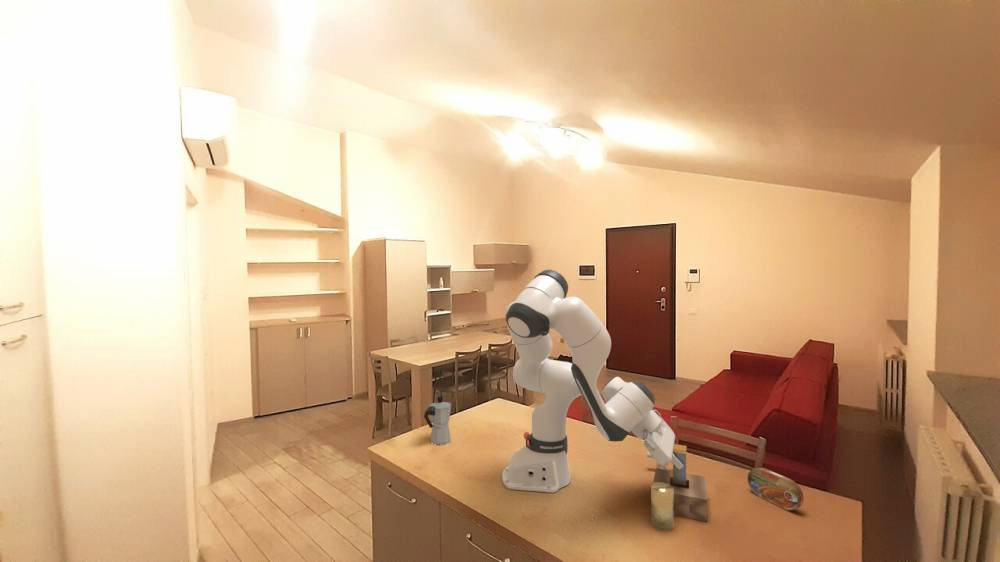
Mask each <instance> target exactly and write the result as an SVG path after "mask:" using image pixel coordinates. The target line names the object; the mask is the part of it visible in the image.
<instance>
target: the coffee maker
mask: <svg viewBox="0 0 1000 562" xmlns="http://www.w3.org/2000/svg"><path fill="white" fill-rule="evenodd" d="M443 398H444V396H443V395H439V396H437V398H436V399H437V402H432V403H431V404H430V405H428V408H427V409H425V411H424V415H423V417H424V419H425V421H426V423H427V425H428V426H429V428H430V429H431V433H430V440H431V443H433V444H432V445H434V444H436V445H435V446H438V445H437V444H446V443H448V442H450V441H451V442H452V439H451V432H450V425H449V421H450V419H451V410H452V402H447V401H446V402H445V401H443V400H444V399H443ZM429 416H430V418H429ZM451 442H450V443H451ZM431 443H430V444H431ZM448 444H449V443H448ZM446 445H447V444H446Z"/></svg>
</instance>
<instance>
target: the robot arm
mask: <svg viewBox="0 0 1000 562" xmlns="http://www.w3.org/2000/svg"><path fill="white" fill-rule="evenodd" d="M568 293H569V284H568V281H567V279H566V278H565V277H564V276H563V275H562V274H561V273H559V272H558V271H556V270H553V269H544V270H542V271H541V272H538V273H537V274H536V275H535V276H534V277H533V279H532V280H531V281H530V282H528V284H527V285H525V287H523V288H522V290H521V292H520V293H519V294H518V296H517V297H516V299H515V300H514V301H512V302H510V304H509V305H508V306H507V307H506V309H505V311H504V318H505V323H506V326H507V329H508V332H509V334H510V338H511V340H512V342H513V344H514V346H515V349H516V350H517V353H518V356H519V359H518V360H517V361H516V362H515V364H514V366H513V369H512V376H513V377H512V379H513V381H514V383H515V384H516V385H517V386H519V387H521V388H524V389H526V390H528V391H531V392H537V393H540V394H541V393H542V394H545V402H542V403H540V404H538V405H537V406H535V408H533V410H532V413H531V433H530V432H528V431H526V432H525V431H524V433H523V439H524V440H525V445H524V446H522V447H521V448H520V449H519V450H517V451H515V452H514V453H512V455H511V457H510V461H509V465H508V466H505V468H503V470H502V475H501V480H502V484H503V486H505V488H506V489H508V490H518V491H519V490H520V491H529V492H540V493H557V492H558V491H559V490H560V489H561V488H564V487H566V486H568V485H569V484H570V483H571V482H572V477H571V473H570V469H569V463H568V455H567V454H568V449H569V448H568V446H569V445H568V444H569V442H568V436H567V416H568V415H567V414H568V410H569V408H570V406H571V404H572V403H573V401H574V400H575V399H577V398H578V397H580V396H582V398H583V400H584V402H585V405H586V407H587V408H588V410H589V413H590V415H591V418H592V420H593V423H594V425H595V428H596V430H597V431H598V432H599V434H600V435H601V436H602V437H603V438H605V440H606V441H608V442H623V441H624V440H625V439H626V437H627V436H628V435H629V434H630V432H632V433H633V434H634V436H636V438H638V440H643V441H644V442H643V445H644V447H645V449H646V450H647V452H649V453H650V454H651V455H652V456H653V457H654V458H653V459H654V460H655V461H656V462H657V463H658V465H659V466H660V465H661V466H665V467H666V466H667V465H669V463H670V464H671V465H673V464H674V465H675V466H676V467H677V468H678V469H681V468H682V467H683V463H682V462H681V460H680V459H679V460H678V459H677V458H676V457H675V455H674V454H673V446H674V444H675V441H676V440H675V439H676V435H675V433H674V431H673V430H672V428H671V427H670V425H668V423H667V421H665V420H664V419H663V417H661V413H660V412H659V411H658V410H657V409H653V408H654V407H655V403H656V400H655V394H654V393H652V391H651V390H650V389H649V388H648V387H647V386H646V385H645V384H644V383H643V382H642V381H636V380H634V381H629V382H627V381H624V380H623V379H622V378H621V377H619V376H615V377H613V378H611V379H610V380H608V381H607V382H606V384H605V385H604V386H603V387H602V389H601V391H599V389H598V387H597V381H598V377H599V375H600V372H601V370H602V368H603V366H604V365H605V363H606V361H607V359H608V358H609V355H610V352H611V349H612V339H611V336H610V334H609V331H608V329H607V328H606V327H605V325H604V324H603V322H602V321H601V319H600V318H599V317H598V316H597V314H596V313H595V312H594V311H593V309H592V308H591V307H590V306H588V305H587V303H586V302H585V301H584V300H582V298H579V297H577V296H567V294H568ZM550 329H552V330H554V331H556V332H557V333H558V334H559V335H560V336H561V338H562V339H563V341H564V342H565V344H566V345H567V346H568V348H569V349H570V353H571V357H572V362H569V361H564V360H563V361H562V360H557V359H550V358H549V357H550V356H551V354H552V352H553V348H554V342H553V340H552V338H551V336H550ZM603 399H604V400H605V402H606V403H605V402H604V400H603ZM666 464H667V465H666Z"/></svg>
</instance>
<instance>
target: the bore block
mask: <svg viewBox="0 0 1000 562" xmlns="http://www.w3.org/2000/svg"><path fill="white" fill-rule="evenodd" d="M706 478H707V476H704V475H697V474H691V473H687V472H686V485H682V484H676V483H673V470H671V469H670V470H668V469H665V470H664V469H660V468H657V467H656V468H655V471H654V477H653V481H652V482H653V483H655V482H663V483H667V484H669V485H671V486H672V487H673V488H674V516H677V517H683V518H686V519H692V520H696V521H701V522H705V521H707V522H708V493H707V480H706ZM653 483H652V484H653Z"/></svg>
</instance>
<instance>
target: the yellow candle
mask: <svg viewBox="0 0 1000 562" xmlns="http://www.w3.org/2000/svg"><path fill="white" fill-rule="evenodd" d="M650 488H651V489H650V491H651V492H650V498H651V499H650V500H651V501H650V505H651V506H650V516H651V517H650V518H651V519H650V520H651V521H650V523H651V525H652V527H654V528H655V529H657V530H660V531H671V530H673V529H674V528H675V527H674V526H675V523H674V516H675V515H674V488H673V487H672V486H671V485H669V484H667V483H663V482H655V483H651V487H650Z"/></svg>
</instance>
